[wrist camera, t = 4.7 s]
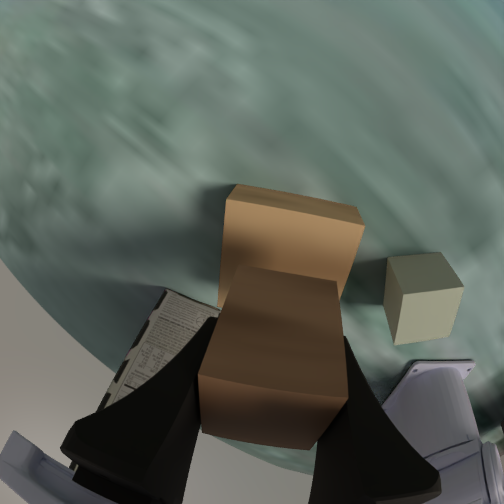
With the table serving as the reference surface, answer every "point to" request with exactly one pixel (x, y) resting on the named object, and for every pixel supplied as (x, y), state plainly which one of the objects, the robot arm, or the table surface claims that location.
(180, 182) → the table surface
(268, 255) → the oak slab
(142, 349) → the candy bar box
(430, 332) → the sage block
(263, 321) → the walnut block
